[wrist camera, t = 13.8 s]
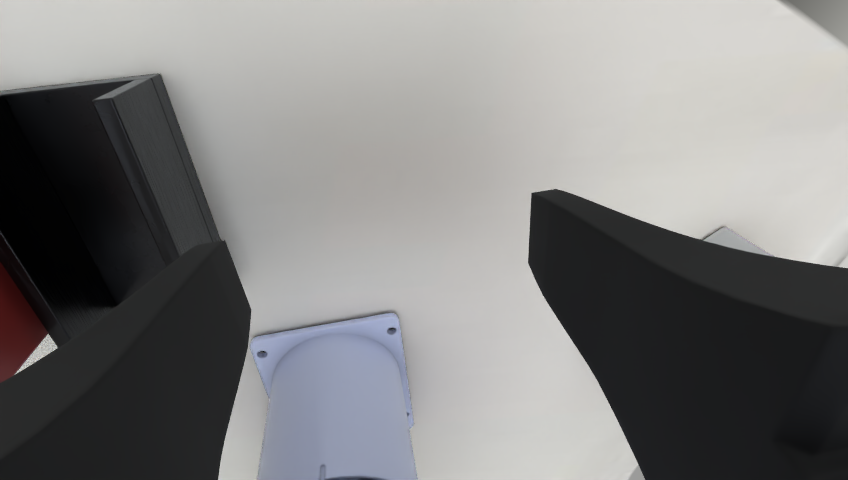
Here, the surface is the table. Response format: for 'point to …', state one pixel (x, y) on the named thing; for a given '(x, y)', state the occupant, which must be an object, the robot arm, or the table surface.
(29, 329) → the book
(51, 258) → the rack
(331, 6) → the table surface
